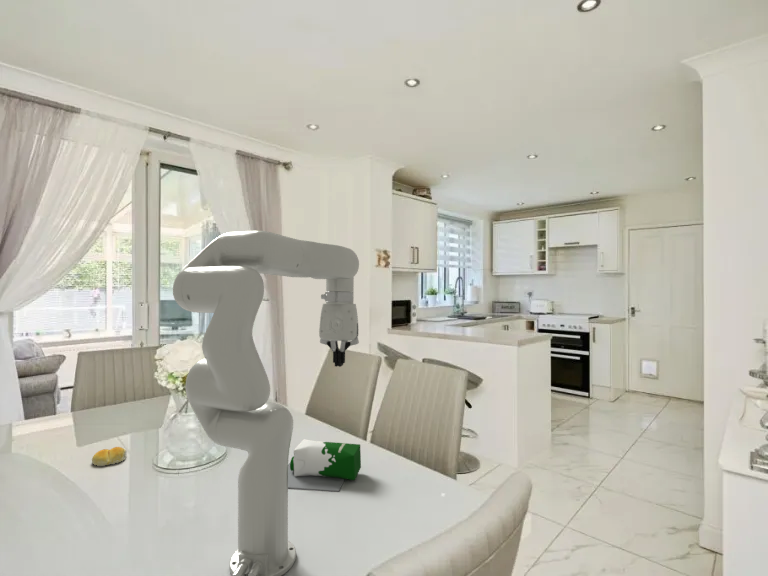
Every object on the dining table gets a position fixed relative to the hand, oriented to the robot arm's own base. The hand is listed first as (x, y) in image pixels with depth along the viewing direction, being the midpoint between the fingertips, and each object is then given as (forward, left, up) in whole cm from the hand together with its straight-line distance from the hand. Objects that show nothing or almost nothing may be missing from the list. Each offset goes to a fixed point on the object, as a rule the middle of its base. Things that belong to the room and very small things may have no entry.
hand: (339, 365), depth 110 cm
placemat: (+6, +9, -33) cm, 35 cm away
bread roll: (+8, +76, -34) cm, 83 cm away
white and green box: (+6, -4, -29) cm, 29 cm away
